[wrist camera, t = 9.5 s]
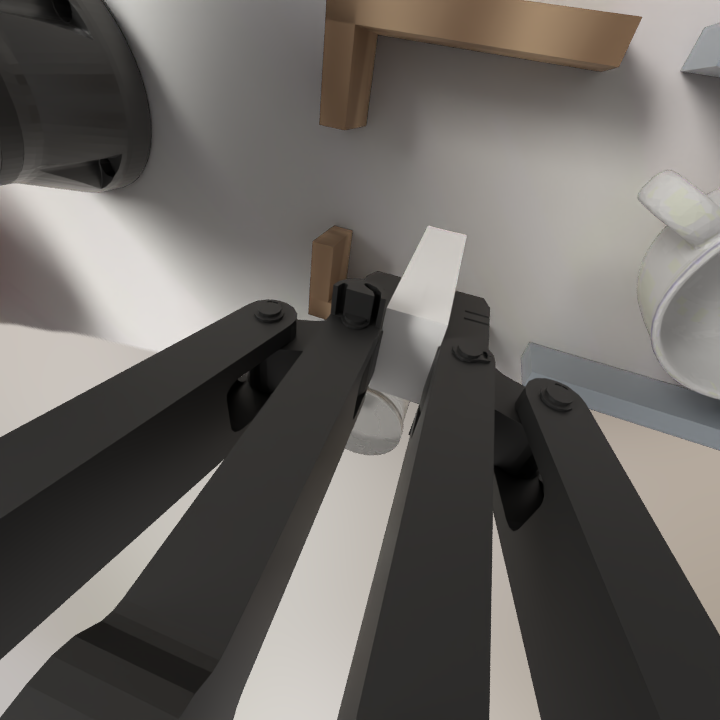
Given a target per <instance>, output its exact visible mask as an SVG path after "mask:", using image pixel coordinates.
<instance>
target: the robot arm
mask: <svg viewBox="0 0 720 720" xmlns="http://www.w3.org/2000/svg"><path fill="white" fill-rule="evenodd" d="M150 144H151V122H150V113H149V107H148V102H147V97H146V93H145V89H144V85H143V82H142V79H141V76H140V73H139V70H138V67H137V65H136V62H135V60H134V57H133V55H132V53H131V50H130V48H129V46H128V44H127V42H126V40H125V38H124V36H123V34H122V32H121V30H120V29H119V27H118V25H117V23H116V22H115V20H114V19H113V17H112V15H111V14H110V12H109V11H108V9H107V8H106V6H105V5H104V4H103V2H102V1H101V0H0V185H6V184H12V183H20V184H27V185H35V186H43V187H51V188H58V189H66V190H74V191H81V192H104V191H108V190H112V189H117V188H121V187H124V186H127V185H129V184H131V183H132V182H134V181H135V180H136V179H137V178H138V177H139V176H140V174H141V173H142V171H143V169H144V167H145V165H146V163H147V159H148V156H149V151H150ZM466 238H467V235H464V234H460V233H456V232H452V231H448V230H444V229H440V228H436V227H432V226H428V227H427V229H426V231H425V233H424V235H423V237H422V239H421V241H420V243H419V245H418V247H417V249H416V251H415V253H414V255H413V257H412V259H411V261H410V262H409V264H408V266H407V268H406V270H405V272H404V274H403V276H402V278H401V277H398V276H394V275H390V274H387V273H383V272H379V271H377V272H374V273H372V274H370V275H368V276H367V277H366V278H365V280H362V279H345V280H341V281H338V282H337V283H335V284H334V285H333V293H332V303H331V313H330V315H329V316H328V318H327V319H326V320H325V321H307V320H297V313H296V311H295V309H294V308H293V307H292V306H290V305H289V304H287V303H285V302H281V301H278V300H260V301H256V302H253V303H250V304H248V305H246V306H244V307H243V308H241V309H239V310H237V311H235V312H233V313H231V314H229V315H228V316H226V317H224V318H222V319H220V320H218V321H216V322H215V323H213V324H211V325H209V326H207V327H205V328H203V329H201V330H200V331H198V332H196V333H194V334H192V335H190V336H188V337H187V338H185V339H183V340H181V341H179V342H177V343H175V344H173V345H172V346H170V347H168V348H166V349H164V350H162V351H160V352H159V353H157V354H155V355H153V356H151V357H149V358H147V359H146V360H144V361H142V362H140V363H138V364H136V365H134V366H132V367H131V368H129V369H127V370H125V371H123V372H121V373H119V374H117V375H116V376H114V377H112V378H110V379H108V380H106V381H105V382H103V383H101V384H99V385H97V386H95V387H93V388H91V389H89V390H88V391H86V392H84V393H82V394H80V395H78V396H76V397H75V398H73V399H71V400H69V401H67V402H65V403H63V404H62V405H60V406H58V407H56V408H54V409H52V410H50V411H48V412H47V413H45V414H43V415H41V416H39V417H37V418H35V419H34V420H32V421H30V422H28V423H26V424H24V425H22V426H20V427H19V428H17V429H15V430H13V431H11V432H9V433H7V434H6V435H4V436H2V437H0V659H1V658H3V657H4V656H5V655H6V654H7V653H8V652H9V651H10V650H11V649H13V648H14V647H15V646H16V645H17V644H18V643H19V642H21V641H22V640H23V639H24V638H25V637H26V636H27V635H28V634H30V632H32V631H33V630H34V629H35V628H36V627H37V626H38V625H39V624H41V623H42V622H43V621H44V620H45V619H46V618H47V617H48V616H50V614H52V613H53V612H54V611H55V610H56V609H57V608H59V607H60V606H61V605H62V604H63V603H64V602H65V601H66V600H67V599H68V598H70V596H72V595H73V594H74V593H75V592H76V591H77V590H78V589H80V588H81V587H82V586H83V585H84V584H85V583H86V582H88V581H89V580H90V579H91V578H92V577H93V576H94V575H95V574H96V573H98V572H99V571H100V570H101V569H102V568H103V567H104V566H105V565H106V564H107V563H109V562H110V561H111V560H112V559H113V558H114V557H115V556H117V555H118V554H119V553H120V552H121V551H122V550H123V549H124V548H125V547H126V546H128V545H129V544H130V543H131V542H132V541H133V540H134V539H136V538H137V537H138V536H139V535H140V534H141V533H142V532H143V531H144V530H146V528H148V527H149V526H150V525H151V524H152V523H153V522H154V521H156V520H157V519H158V518H159V517H160V516H161V515H162V514H163V513H165V512H166V511H167V510H168V509H169V508H170V507H171V506H172V505H173V504H175V503H176V502H177V501H178V500H179V499H180V498H181V497H182V496H183V495H185V494H186V493H187V492H188V491H189V490H190V489H191V488H192V487H194V486H195V485H196V484H197V483H198V482H199V481H200V480H201V479H202V478H204V477H205V476H206V475H207V474H208V473H209V472H210V471H211V470H212V469H214V468H215V467H216V466H217V465H218V464H219V463H220V462H221V461H223V460H224V461H223V462H222V463H221V465H220V466H219V467H218V469H217V470H216V472H215V473H214V474H213V476H212V477H211V478H210V480H209V481H208V483H207V484H206V485H205V487H204V488H203V489H202V491H201V492H200V493H199V495H198V496H197V498H196V499H195V500H194V502H193V503H192V504H191V506H190V508H189V509H188V510H187V511H186V513H185V514H184V515H183V517H182V518H181V520H180V521H179V523H178V524H177V525H176V526H175V528H174V529H173V531H172V532H171V533H170V535H169V536H168V537H167V539H166V540H165V541H164V543H163V544H162V546H161V547H160V548H159V550H158V551H157V553H156V554H155V555H154V557H153V558H152V559H151V561H150V562H149V564H148V565H147V566H146V568H145V569H144V570H143V572H142V573H141V574H140V576H139V577H138V579H137V580H136V581H135V583H134V584H133V585H132V587H131V588H130V590H129V591H128V592H127V594H126V595H125V597H124V598H123V599H122V600H121V601H120V603H119V604H118V605H117V606H116V608H115V609H114V610H113V611H112V612H111V613H110V614H109V615H108V616H106V617H105V618H104V619H103V620H102V621H101V622H99V623H97V624H95V625H93V626H92V627H90V628H88V629H86V630H84V631H82V632H80V633H79V634H77V635H75V636H74V637H73V638H71V639H70V640H69V641H68V642H67V643H66V644H64V645H63V646H62V647H61V648H60V649H59V650H58V651H56V652H55V653H54V654H53V655H52V656H51V657H50V658H49V659H48V660H47V662H46V663H45V664H44V665H43V666H42V667H41V668H40V670H39V671H38V672H37V673H36V674H35V675H34V676H33V678H32V679H31V680H30V681H29V682H28V683H27V684H26V685H25V687H24V688H23V689H22V691H21V692H20V693H19V695H18V696H17V697H16V698H15V699H14V701H13V702H12V703H11V705H10V706H9V707H8V708H7V710H6V711H5V712H4V714H3V715H2V716H1V717H0V720H233V718H234V715H235V711H236V707H237V705H238V702H239V699H240V696H241V694H242V692H243V689H244V686H245V684H246V682H247V679H248V677H249V675H250V672H251V670H252V668H253V665H254V663H255V660H256V658H257V656H258V653H259V651H260V648H261V646H262V643H263V641H264V639H265V637H266V634H267V632H268V629H269V627H270V625H271V622H272V620H273V618H274V615H275V613H276V610H277V608H278V606H279V603H280V601H281V598H282V596H283V594H284V591H285V589H286V587H287V584H288V582H289V579H290V577H291V574H292V572H293V570H294V568H295V565H296V563H297V560H298V558H299V556H300V553H301V551H302V549H303V546H304V544H305V541H306V539H307V537H308V534H309V532H310V529H311V527H312V525H313V522H314V520H315V518H316V515H317V513H318V510H319V508H320V505H321V503H322V501H323V498H324V496H325V494H326V491H327V489H328V487H329V484H330V482H331V479H332V477H333V475H334V472H335V470H336V467H337V465H338V463H339V461H340V458H341V456H342V453H343V451H344V449H345V446H346V444H347V441H348V439H349V437H350V434H351V432H352V430H353V427H354V425H355V422H356V420H357V418H358V415H359V413H360V411H361V408H362V406H363V403H364V401H365V397H366V392H367V388H368V385H369V383H370V386H369V388H371V389H374V390H377V391H380V392H383V393H386V394H389V395H393V396H396V397H399V398H402V399H405V400H408V401H412V402H415V403H417V404H419V408H418V410H417V413H416V416H415V418H414V421H413V424H412V426H411V429H410V432H409V435H410V438H409V442H408V446H407V450H406V454H405V458H404V461H403V465H402V469H401V473H400V477H399V481H398V485H397V489H396V493H395V497H394V500H393V504H392V508H391V512H390V516H389V520H388V524H387V527H386V531H385V535H384V539H383V543H382V547H381V551H380V555H379V559H378V563H377V567H376V571H375V574H374V579H373V582H372V586H371V590H370V594H369V598H368V602H367V605H366V609H365V613H364V618H363V621H362V625H361V629H360V633H359V636H358V640H357V645H356V649H355V652H354V656H353V660H352V664H351V668H350V672H349V675H348V680H347V683H346V687H345V691H344V695H343V699H342V703H341V707H340V710H339V714H338V719H337V720H489V703H490V643H491V587H492V529H493V513H494V517H495V521H496V526H497V530H498V534H499V539H500V543H501V547H502V552H503V556H504V561H505V564H506V569H507V573H508V578H509V582H510V587H511V591H512V595H513V600H514V604H515V608H516V612H517V617H518V621H519V626H520V630H521V634H522V639H523V643H524V647H525V651H526V656H527V660H528V665H529V668H530V673H531V678H532V682H533V686H534V691H535V695H536V699H537V704H538V708H539V712H540V717H541V720H720V635H719V633H718V632H717V630H716V628H715V626H714V625H713V623H712V621H711V619H710V618H709V616H708V614H707V612H706V611H705V609H704V607H703V606H702V604H701V602H700V600H699V599H698V597H697V595H696V594H695V592H694V590H693V588H692V587H691V585H690V583H689V581H688V580H687V578H686V576H685V574H684V573H683V571H682V569H681V567H680V566H679V564H678V562H677V561H676V559H675V557H674V555H673V554H672V552H671V550H670V548H669V547H668V545H667V543H666V541H665V540H664V538H663V537H662V535H661V533H660V531H659V529H658V528H657V526H656V524H655V522H654V521H653V519H652V517H651V516H650V514H649V512H648V510H647V509H646V507H645V505H644V503H643V502H642V500H641V498H640V496H639V495H638V493H637V491H636V490H635V488H634V486H633V485H632V483H631V481H630V479H629V477H628V476H627V474H626V472H625V471H624V469H623V467H622V465H621V464H620V462H619V460H618V458H617V457H616V455H615V453H614V452H613V450H612V448H611V446H610V445H609V443H608V441H607V439H606V438H605V436H604V434H603V433H602V431H601V429H600V427H599V426H598V424H597V422H596V420H595V419H594V417H593V415H592V413H591V412H590V410H589V408H588V406H587V405H586V403H585V402H584V401H583V399H582V398H581V397H580V396H579V395H578V394H577V393H576V392H575V391H573V390H572V389H571V388H569V387H568V386H566V385H564V384H562V383H560V382H558V381H554V380H551V379H547V378H535V379H532V380H530V381H528V383H527V384H526V386H523V385H521V384H519V383H517V382H515V381H513V380H512V379H510V378H508V377H506V376H505V375H503V374H502V373H501V372H499V371H498V370H497V369H496V368H495V359H494V356H493V354H492V353H491V352H490V351H489V349H488V343H489V317H490V307H489V306H488V304H487V303H486V301H485V300H484V298H480V297H476V296H473V295H469V294H465V293H462V292H458V291H455V290H456V285H457V280H458V276H459V271H460V266H461V261H462V257H463V252H464V247H465V242H466ZM245 373H246V374H245ZM370 381H371V382H370Z"/></svg>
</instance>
